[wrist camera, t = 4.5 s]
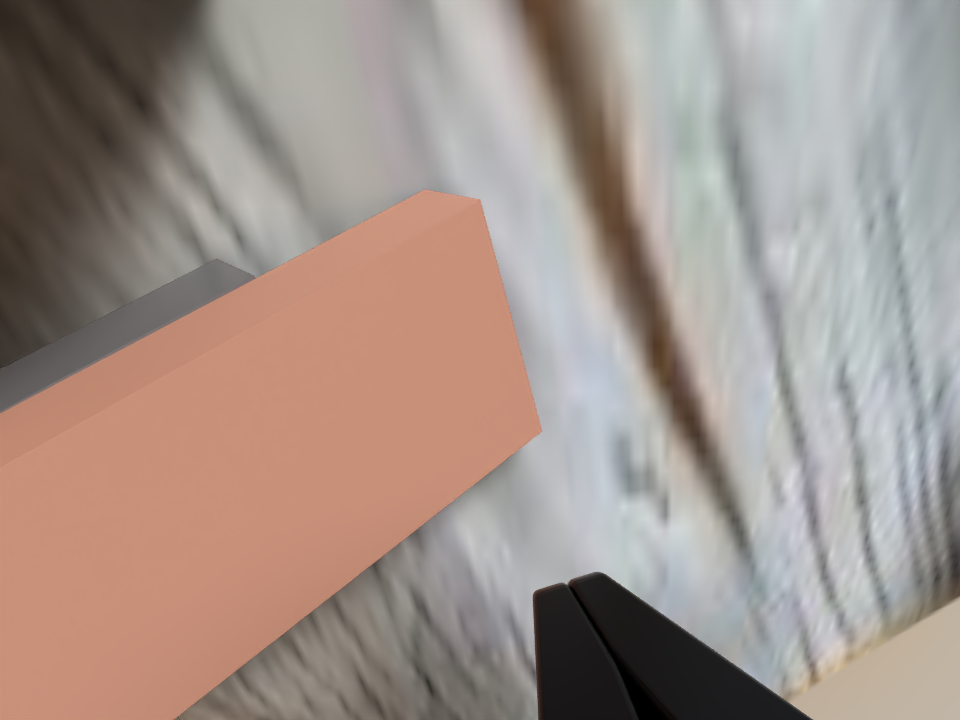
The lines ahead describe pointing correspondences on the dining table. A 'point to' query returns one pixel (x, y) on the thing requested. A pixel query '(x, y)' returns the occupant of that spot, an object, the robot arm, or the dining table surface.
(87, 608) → the domino
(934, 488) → the dining table surface
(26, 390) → the domino
